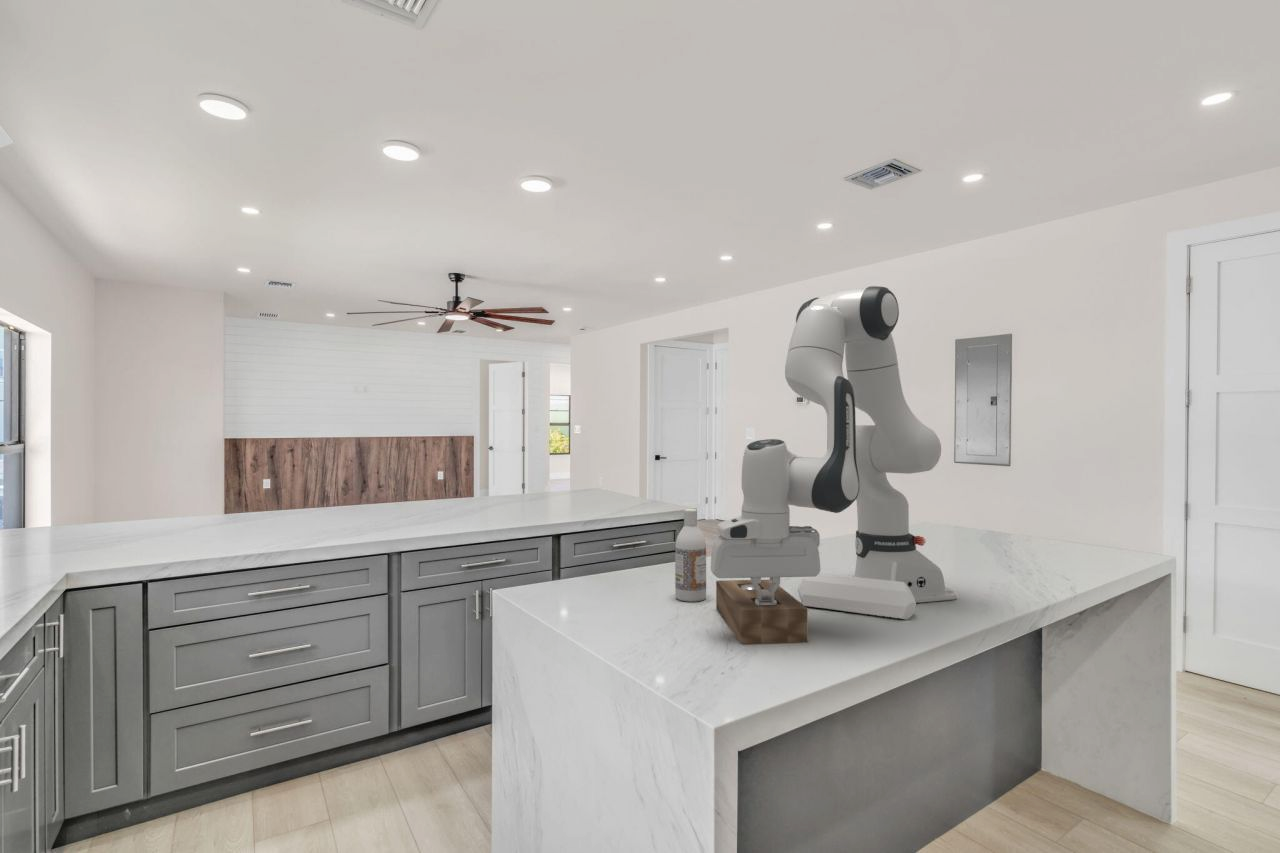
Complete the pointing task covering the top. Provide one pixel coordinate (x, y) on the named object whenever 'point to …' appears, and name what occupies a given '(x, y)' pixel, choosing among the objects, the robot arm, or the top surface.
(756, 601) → the peg
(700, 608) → the top surface
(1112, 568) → the top surface
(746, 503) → the robot arm
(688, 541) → the bath foam
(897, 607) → the crystal
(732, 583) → the brown wooden block
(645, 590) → the top surface
